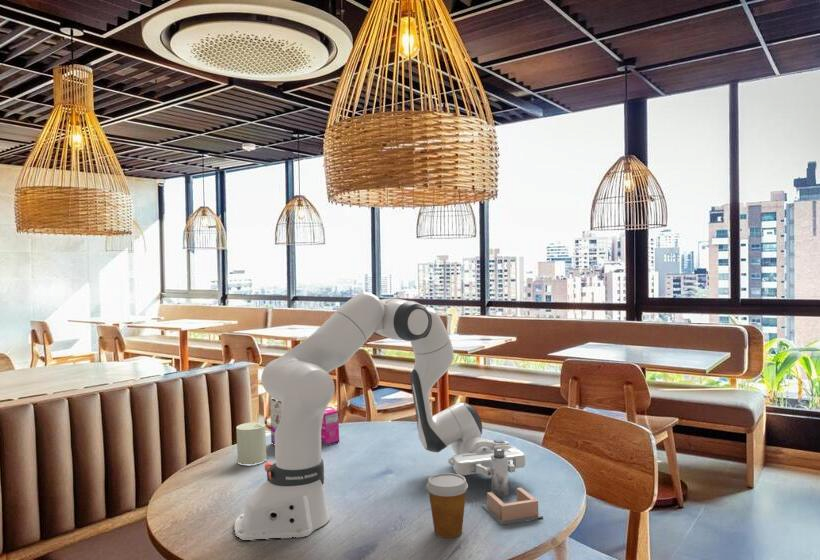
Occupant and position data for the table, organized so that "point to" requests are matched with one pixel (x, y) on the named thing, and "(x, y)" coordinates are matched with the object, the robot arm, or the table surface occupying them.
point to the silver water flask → (499, 473)
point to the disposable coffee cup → (447, 503)
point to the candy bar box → (275, 416)
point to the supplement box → (330, 427)
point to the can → (251, 442)
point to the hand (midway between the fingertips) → (500, 471)
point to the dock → (512, 508)
